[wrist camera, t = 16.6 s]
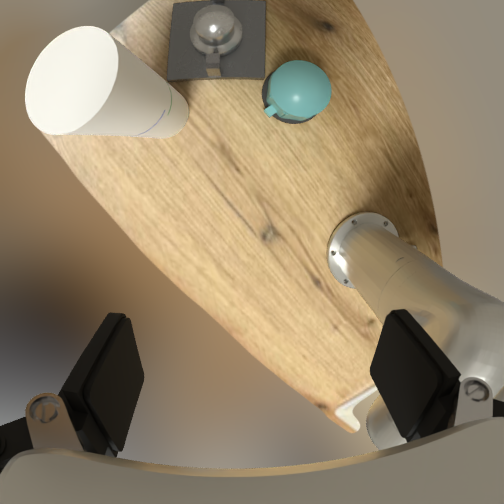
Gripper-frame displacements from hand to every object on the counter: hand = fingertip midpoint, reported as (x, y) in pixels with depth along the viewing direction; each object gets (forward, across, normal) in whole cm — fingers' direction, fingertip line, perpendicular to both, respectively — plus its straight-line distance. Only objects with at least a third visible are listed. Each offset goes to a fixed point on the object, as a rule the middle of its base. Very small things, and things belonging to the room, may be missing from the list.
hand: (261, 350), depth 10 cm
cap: (+32, -7, -14) cm, 35 cm away
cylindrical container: (+32, +11, -12) cm, 36 cm away
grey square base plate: (+32, +4, -23) cm, 40 cm away
